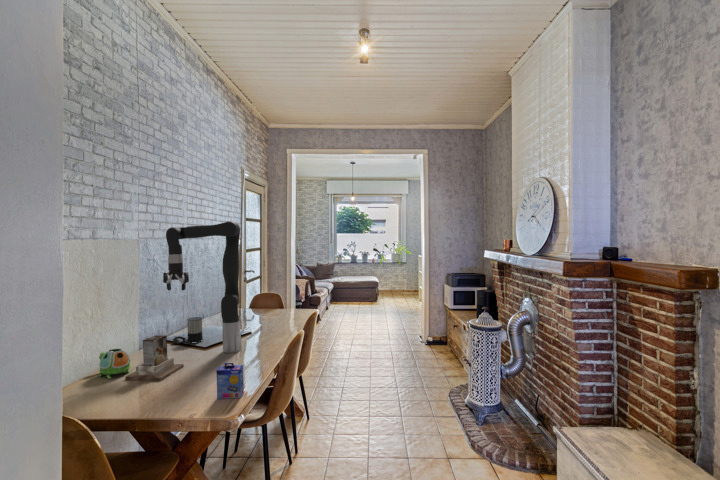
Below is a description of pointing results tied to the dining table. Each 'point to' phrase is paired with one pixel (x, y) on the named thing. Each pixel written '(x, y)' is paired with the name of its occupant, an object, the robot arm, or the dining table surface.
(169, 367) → the frame
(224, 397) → the ink cartridge box
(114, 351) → the turtle holder
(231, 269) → the robot arm
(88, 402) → the dining table surface
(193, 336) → the milk frother
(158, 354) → the coffee box
